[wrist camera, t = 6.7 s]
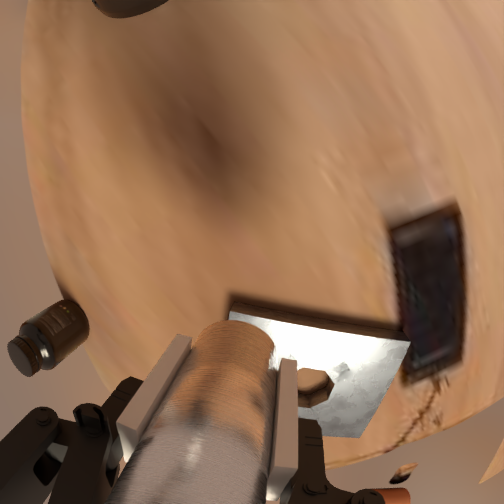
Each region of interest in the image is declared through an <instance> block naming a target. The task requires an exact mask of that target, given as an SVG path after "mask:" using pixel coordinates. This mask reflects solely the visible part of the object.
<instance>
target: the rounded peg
mask: <svg viewBox="0 0 504 504" xmlns="http://www.w3.org/2000/svg"><path fill="white" fill-rule="evenodd" d="M277 372H278V351H277V348H276V346H275V344H274V342H273V340H272V339H271V338H270V337H269V335H268V334H266V333H265V332H264V331H263V330H261V329H260V328H258V327H257V326H255V325H253V324H250V323H247V322H244V321H238V320H225V321H220V322H217V323H214V324H212V325H210V326H208V327H207V328H205V329H204V330H203V331H202V332H201V334H200V335H199V336H198V338H197V340H196V342H195V343H194V345H193V347H192V349H191V350H190V352H189V354H188V356H187V358H186V359H185V361H184V363H183V365H182V366H181V368H180V370H179V372H178V373H177V375H176V377H175V379H174V380H173V382H172V384H171V386H170V387H169V389H168V391H167V393H166V395H165V396H164V398H163V400H162V402H161V403H160V405H159V407H158V409H157V410H156V412H155V414H154V416H153V418H152V419H151V421H150V423H149V425H148V426H147V428H146V430H145V432H144V434H143V435H142V437H141V439H140V441H139V442H138V444H137V446H136V448H135V450H134V451H133V453H132V455H131V457H130V458H129V460H128V462H127V464H126V466H125V467H124V469H123V471H122V473H121V475H120V476H119V478H118V480H117V482H116V483H115V485H114V487H113V489H112V491H111V492H110V494H109V496H108V498H107V500H106V501H105V503H104V504H265V503H266V495H267V486H268V476H269V466H270V456H271V446H272V435H273V424H274V412H275V399H276V386H277Z"/></svg>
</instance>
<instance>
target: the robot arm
mask: <svg viewBox="0 0 504 504" xmlns="http://www.w3.org/2000/svg"><path fill="white" fill-rule="evenodd" d="M167 1H168V0H92V2H93V4H94V5H95V7H96V8H97V9H98V10H100V11H101V12H102V13H104V14H105V15H107V16H109V17H112V18H128V17H132V16H136V15H140V14H142V13H145V12H148V11H150V10H152V9H154V8H156V7H158V6H160V5H162V4H164V3H165V2H167ZM191 341H192V337H188V336H185V335H181V334H177V335H176V337H175V338H174V339H173V341H172V342H171V344H170V345H169V346H168V348H167V349H166V351H165V352H164V354H163V355H162V356H161V358H160V359H159V361H158V362H157V364H156V365H155V366H154V368H153V369H152V371H151V372H150V373H149V375H148V376H147V378H146V379H145V381H142V380H139V379H137V378H134V377H131V376H130V377H129V378H127V379H125V380H123V381H121V383H120V384H119V385H118V386H117V388H116V390H114V391H113V393H112V394H111V396H110V397H109V398H108V399H107V400H106V401H105V403H104V404H103V405H102V407H100V406H98V405H96V404H91V403H86V404H81V405H79V406H77V407H76V408H75V409H74V410H73V414H74V417H75V420H76V422H72V421H68V420H64V419H60V418H58V416H57V414H56V412H54V410H52V409H50V408H48V407H37V408H35V409H33V410H32V411H31V412H30V413H28V415H26V416H25V417H24V418H23V419H22V420H21V422H19V423H18V424H17V425H16V426H15V427H14V428H13V429H12V430H11V431H10V432H9V434H7V435H6V436H5V437H4V439H2V440H1V441H0V504H43V502H44V501H45V500H46V498H47V497H48V496H49V494H50V493H51V491H52V493H51V496H50V499H49V502H48V504H104V503H105V501H106V500H107V498H108V496H109V494H110V492H111V491H112V489H113V487H114V485H115V483H116V482H117V480H118V475H119V470H120V464H119V461H120V460H121V458H122V456H124V460H125V462H128V460H129V458H130V457H131V455H132V453H133V451H134V450H135V448H136V446H137V444H138V442H139V441H140V439H141V437H142V435H143V434H144V432H145V430H146V428H147V426H148V425H149V423H150V421H151V419H152V418H153V416H154V414H155V412H156V410H157V409H158V407H159V405H160V403H161V402H162V400H163V398H164V396H165V395H166V393H167V391H168V389H169V387H170V386H171V384H172V382H173V380H174V379H175V377H176V375H177V373H178V372H179V370H180V368H181V366H182V365H183V363H184V361H185V359H186V358H187V356H188V354H189V352H190V350H191ZM279 497H280V504H385V500H384V498H383V496H382V495H381V494H380V493H379V492H378V491H375V490H373V489H363V490H359V491H358V492H356V493H351V492H347V491H344V490H340V489H338V488H336V487H334V486H333V485H331V484H330V483H329V481H328V480H327V478H326V475H325V463H324V450H323V440H322V428H321V427H320V425H319V424H318V422H317V420H314V419H305V418H298V387H297V360H292V359H286V358H282V359H281V362H280V365H279V369H278V372H277V386H276V399H275V412H274V424H273V435H272V446H271V456H270V466H269V476H268V486H267V495H266V500H273V501H277V500H278V499H279Z"/></svg>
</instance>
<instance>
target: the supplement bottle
mask: <svg viewBox="0 0 504 504" xmlns="http://www.w3.org/2000/svg"><path fill="white" fill-rule="evenodd" d="M88 335H89V325H88V321H87V318H86V316H85V314H84V313H83V311H82V310H81V309H80V308H79V307H78V306H77V305H76V304H75V303H73V302H72V301H69V300H61V301H59V302H57V303H55V304H53V305H52V306H50V307H48V308H47V309H45V310H43V311H42V312H40V313H38V314H37V315H35V316H33V317H32V318H30V319H29V320H27V321H25V322H24V323H23V324H22V325H21V327H20V330H19V335H18V336H16V337H15V338H14V339H13V340H11V341H10V342H9V343H8V346H7V347H8V353H9V356H10V358H11V360H12V362H13V363H14V365H15V366H16V368H17V369H18V370H19V371H20V372H21V373H22V374H23V375H25V376H27V377H31V376H33V375H34V374H35V373H36V372H38V371H39V370H40V369H43V370H51V369H53V368H54V367H56V366H57V365H58V364H59V363H60V362H61V361H62V360H64V359H65V358H66V357H67V356H68V355H70V354H71V353H72V352H73V351H74V350H75V349H77V348H78V347H79V346H80V345H81V344H82V343H83V342H85V340H86V339H87V338H88Z"/></svg>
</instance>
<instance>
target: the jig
mask: <svg viewBox="0 0 504 504" xmlns="http://www.w3.org/2000/svg"><path fill="white" fill-rule="evenodd" d="M229 320H238V321H244V322H247V323H250V324H253V325H255V326H257V327H258V328H260V329H261V330H263V331H264V332H265V333H266V334H268V335H269V337H270V338H271V339H272V340H273V342H274V344H275V346H276V348H277V351H278V369H279V365H280V362H281V359H282V358H286V359H292V360H297V370H299V369H301V368H303V367H304V368H310V369H317V370H324V371H326V373H327V374H328V376H329V377H330V379H329V381H328V384H327V386H326V387H325V388H323V389H321V390H319V391H317V392H315V393H313V394H310V395H303V394H298V418H305V419H314V420H317V422H318V424H319V425H320V427H321V428H322V436H333V437H351V438H360V436H361V435H362V433H363V431H364V430H365V428H366V427H367V425H368V423H369V422H370V420H371V418H372V417H373V415H374V413H375V412H376V410H377V408H378V406H379V405H380V403H381V401H382V399H383V398H384V396H385V394H386V392H387V390H388V388H389V386H390V384H391V382H392V380H393V379H394V377H395V375H396V373H397V370H398V368H399V366H400V364H401V362H402V360H403V358H404V356H405V354H406V351H407V349H408V347H409V345H410V340H409V339H408V338H407V336H406V335H405V333H404V332H402V331H395V330H388V329H381V328H374V327H368V326H361V325H355V324H349V323H343V322H337V321H331V320H325V319H320V318H314V317H309V316H303V315H298V314H293V313H288V312H283V311H277V310H273V309H268V308H263V307H258V306H253V305H248V304H244V303H239V302H235V301H234V303H233V305H232V308H231V310H230V314H229Z"/></svg>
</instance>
